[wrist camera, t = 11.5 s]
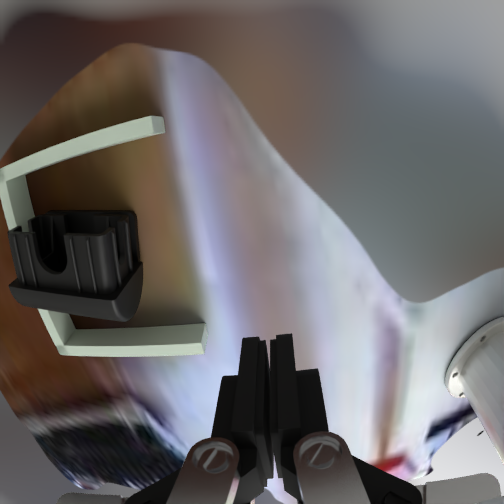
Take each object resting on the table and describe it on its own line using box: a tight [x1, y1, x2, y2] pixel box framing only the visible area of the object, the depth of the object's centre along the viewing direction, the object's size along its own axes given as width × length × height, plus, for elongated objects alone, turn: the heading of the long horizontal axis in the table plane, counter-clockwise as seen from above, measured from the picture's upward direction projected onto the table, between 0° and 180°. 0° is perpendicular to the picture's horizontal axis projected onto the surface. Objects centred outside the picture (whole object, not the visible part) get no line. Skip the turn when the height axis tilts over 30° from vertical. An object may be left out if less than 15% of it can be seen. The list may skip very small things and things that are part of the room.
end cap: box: [8, 210, 143, 322], centre depth 21 cm, size 10×7×7 cm
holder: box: [0, 116, 208, 357], centre depth 23 cm, size 15×18×3 cm
